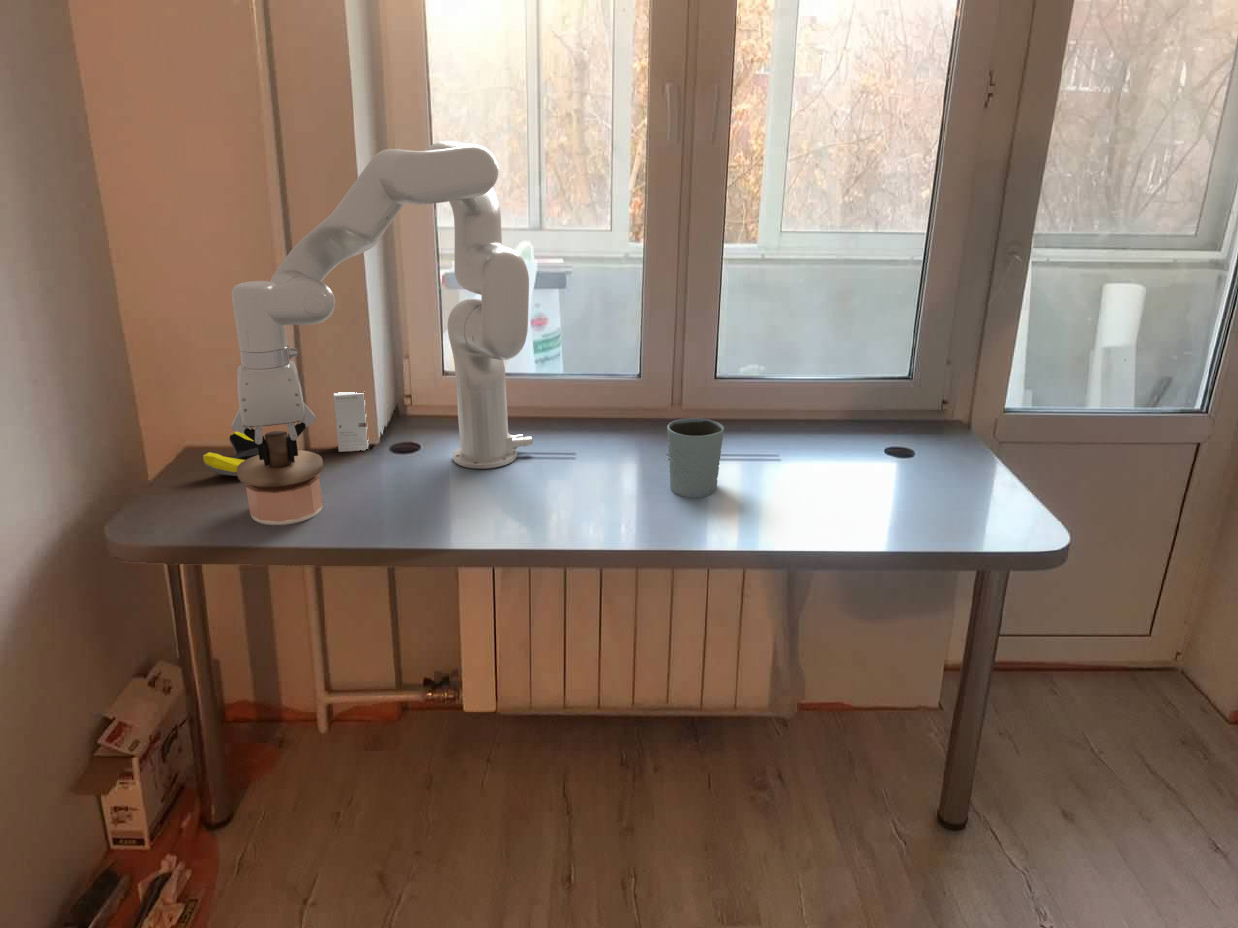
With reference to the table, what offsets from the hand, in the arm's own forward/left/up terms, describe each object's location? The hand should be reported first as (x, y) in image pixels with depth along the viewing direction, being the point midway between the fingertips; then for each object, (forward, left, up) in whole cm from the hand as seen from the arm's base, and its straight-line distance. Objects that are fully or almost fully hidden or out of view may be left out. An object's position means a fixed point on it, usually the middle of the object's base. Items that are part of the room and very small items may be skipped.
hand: (279, 460), depth 166 cm
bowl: (0, 0, -9) cm, 9 cm away
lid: (0, 0, -2) cm, 2 cm away
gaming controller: (+7, -24, -10) cm, 27 cm away
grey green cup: (-71, +15, -10) cm, 73 cm away
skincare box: (-14, -28, -10) cm, 33 cm away
